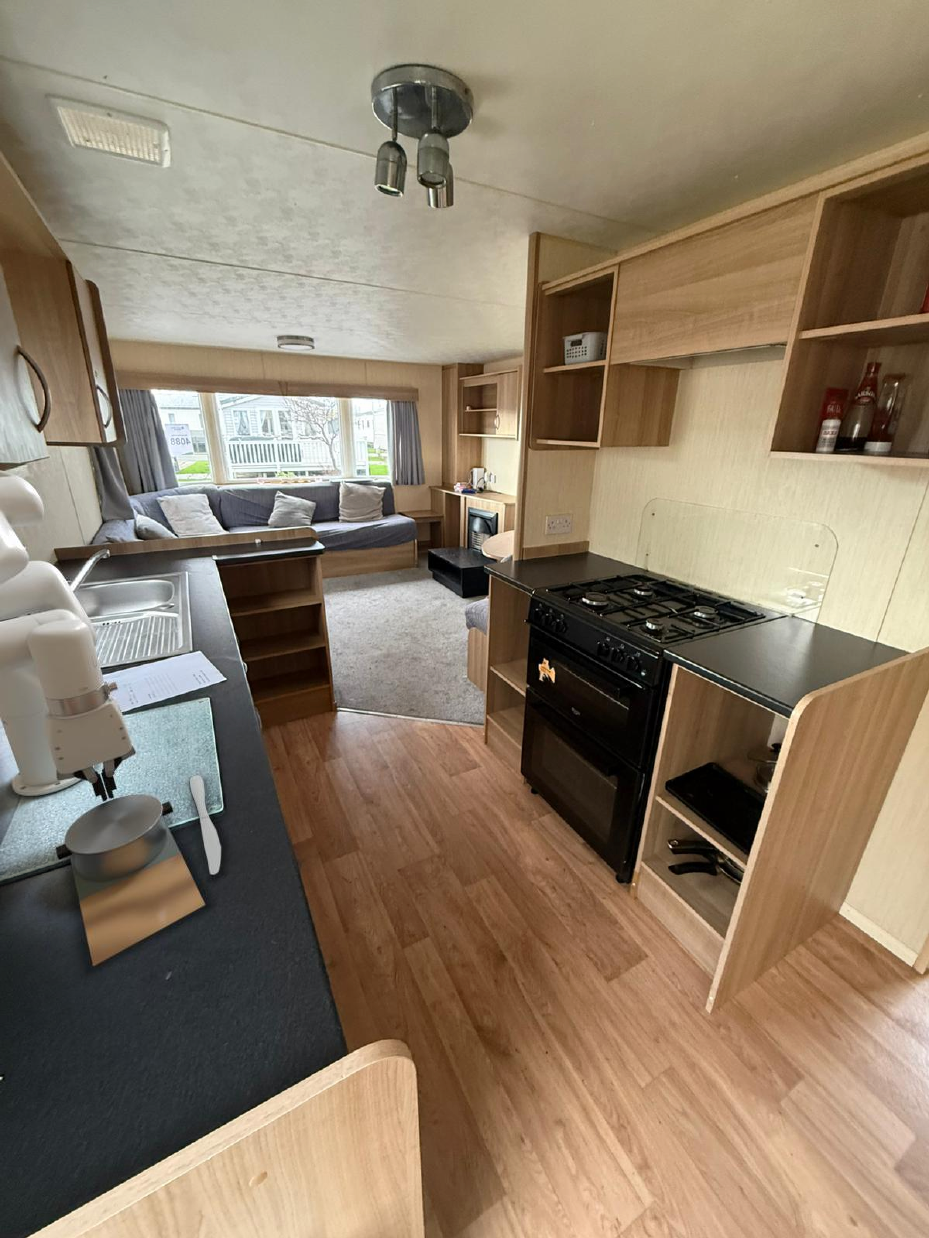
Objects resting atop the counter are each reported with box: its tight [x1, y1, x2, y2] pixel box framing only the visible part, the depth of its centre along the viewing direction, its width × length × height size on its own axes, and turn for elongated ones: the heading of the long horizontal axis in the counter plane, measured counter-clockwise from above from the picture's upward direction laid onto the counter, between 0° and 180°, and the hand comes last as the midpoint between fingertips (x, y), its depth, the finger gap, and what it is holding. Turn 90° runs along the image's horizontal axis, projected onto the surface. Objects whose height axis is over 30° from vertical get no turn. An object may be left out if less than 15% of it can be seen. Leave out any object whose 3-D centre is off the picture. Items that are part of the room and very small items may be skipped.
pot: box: [55, 793, 174, 882], centre depth 78 cm, size 13×15×6 cm
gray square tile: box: [69, 816, 181, 902], centre depth 79 cm, size 12×13×1 cm
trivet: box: [78, 852, 206, 967], centre depth 70 cm, size 12×13×1 cm
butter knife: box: [189, 774, 222, 876], centre depth 86 cm, size 1×27×3 cm
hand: (107, 795), depth 84 cm, fingers closed
